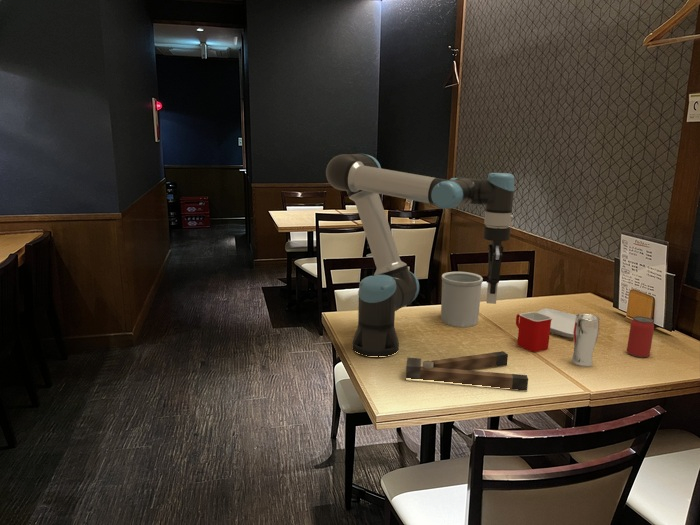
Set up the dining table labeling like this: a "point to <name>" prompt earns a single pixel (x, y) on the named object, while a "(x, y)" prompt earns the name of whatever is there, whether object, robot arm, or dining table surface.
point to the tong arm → (473, 361)
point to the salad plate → (560, 322)
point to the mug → (533, 331)
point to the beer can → (640, 336)
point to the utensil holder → (460, 298)
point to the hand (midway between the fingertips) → (491, 302)
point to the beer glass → (585, 338)
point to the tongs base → (464, 375)
